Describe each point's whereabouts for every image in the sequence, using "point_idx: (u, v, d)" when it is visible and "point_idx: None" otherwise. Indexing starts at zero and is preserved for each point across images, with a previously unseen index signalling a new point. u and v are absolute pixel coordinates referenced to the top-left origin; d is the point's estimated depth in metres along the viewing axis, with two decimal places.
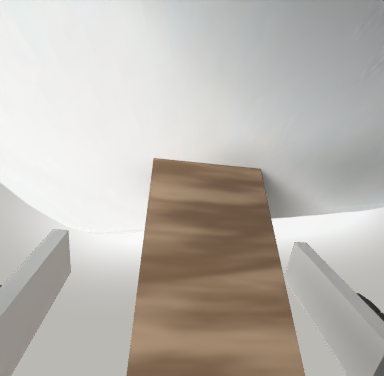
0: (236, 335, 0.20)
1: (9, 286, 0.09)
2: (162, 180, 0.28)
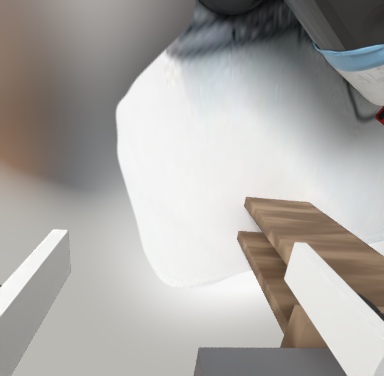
0: (348, 253, 0.33)
1: (9, 286, 0.09)
2: (257, 204, 0.46)
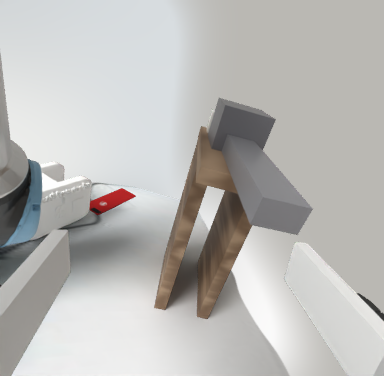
0: (183, 196, 0.42)
1: (9, 286, 0.09)
2: (159, 289, 0.43)
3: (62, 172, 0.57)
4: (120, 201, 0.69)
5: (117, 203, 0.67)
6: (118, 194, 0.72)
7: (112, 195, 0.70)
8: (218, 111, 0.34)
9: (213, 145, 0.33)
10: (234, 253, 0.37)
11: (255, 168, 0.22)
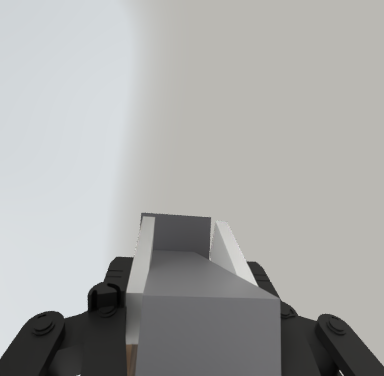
0: None
1: (140, 255, 0.11)
2: None
3: None
4: None
5: None
6: None
7: None
8: None
9: None
10: None
11: (169, 266, 0.12)
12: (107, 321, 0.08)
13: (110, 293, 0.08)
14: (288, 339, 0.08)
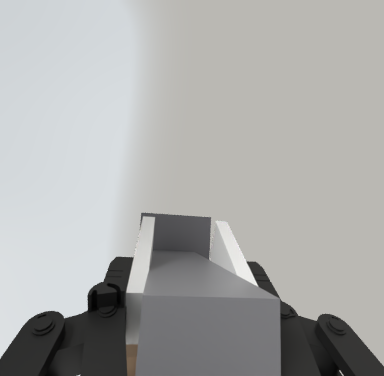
0: None
1: (140, 255, 0.11)
2: None
3: None
4: None
5: None
6: None
7: None
8: None
9: None
10: None
11: (169, 266, 0.12)
12: (107, 321, 0.08)
13: (110, 293, 0.08)
14: (288, 339, 0.08)
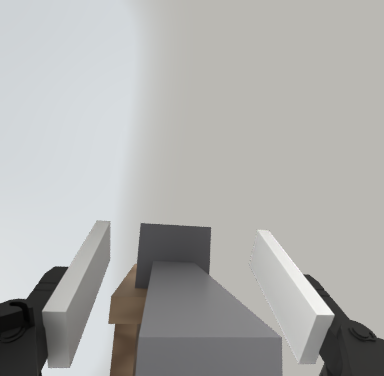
0: None
1: (76, 266, 0.10)
2: None
3: None
4: None
5: None
6: None
7: None
8: None
9: (136, 282, 0.22)
10: None
11: (168, 287, 0.12)
12: (12, 346, 0.07)
13: (13, 313, 0.07)
14: (366, 361, 0.08)
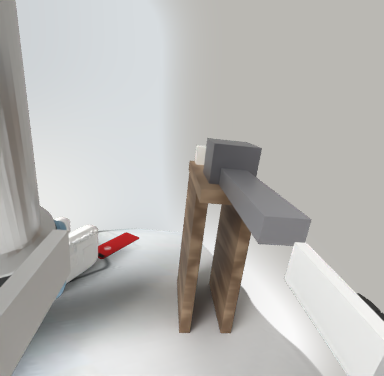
0: (186, 222, 0.48)
1: (9, 286, 0.09)
2: (180, 313, 0.45)
3: (68, 225, 0.61)
4: (124, 244, 0.72)
5: (121, 246, 0.71)
6: (122, 238, 0.75)
7: (116, 239, 0.74)
8: (209, 149, 0.38)
9: (210, 180, 0.36)
10: (241, 261, 0.42)
11: (252, 193, 0.25)
12: None
13: None
14: None
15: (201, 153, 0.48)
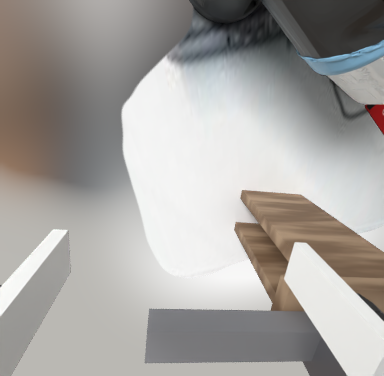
0: (332, 236, 0.36)
1: (9, 286, 0.09)
2: (252, 196, 0.50)
3: None
4: None
5: None
6: None
7: None
8: None
9: None
10: (259, 273, 0.41)
11: (210, 340, 0.22)
12: None
13: None
14: None
15: None
